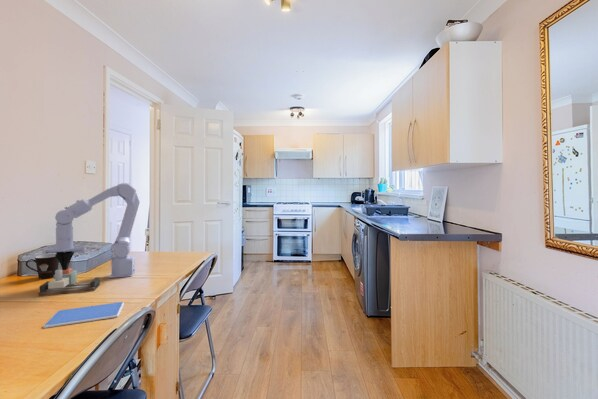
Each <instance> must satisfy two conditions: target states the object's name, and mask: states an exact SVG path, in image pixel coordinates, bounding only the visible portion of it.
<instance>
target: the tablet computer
mask: <svg viewBox="0 0 598 399" xmlns="http://www.w3.org/2000/svg"><path fill="white" fill-rule="evenodd" d="M124 304H125V302H124V301H118V302H112V303H105V304H98V305H95V304H94V305H88V306H82V307H75V308H74V307H73V308H68V309H60V310H58V311H56V312H55V313H54V314H53V315H52V316H51V318H50V319H48V321H46V322H45V324H43V326H42V329H49V328H54V327H62V326H68V325H69V326H70V325H75V324H82V323H89V322H94V321H100V320H108V319H115V318H116V319H117V318H118V317H119V315H120V314H121V312H122V311H123V307H124Z"/></svg>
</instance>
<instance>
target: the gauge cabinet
mask: <svg viewBox="0 0 598 399" xmlns="http://www.w3.org/2000/svg"><path fill="white" fill-rule="evenodd" d="M77 273H78V272H77V270H73V269H72V272H71V273H69V274H62V278H69V284H76V282H78V279H77V277H78V275H77ZM53 279H55V275H54V278H53ZM69 284H68V285H69Z"/></svg>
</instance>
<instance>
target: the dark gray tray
mask: <svg viewBox="0 0 598 399" xmlns="http://www.w3.org/2000/svg"><path fill="white" fill-rule="evenodd" d="M50 281H51V280H50ZM50 281H46V282H44V283H42V284H41V285H39V292H38V293H37V294H38V297H44V296H54V295H65V294H76V293H87V292H95V291H96V290H97V288H98V287H100V285H101V281H100V277H98V276H97V277H96V276H95V277H94V278H93V279H92V280H91V281H90V282H82V283H74V284H69V285H67V286H65V287H64V288H54V289H48V282H50Z"/></svg>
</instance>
